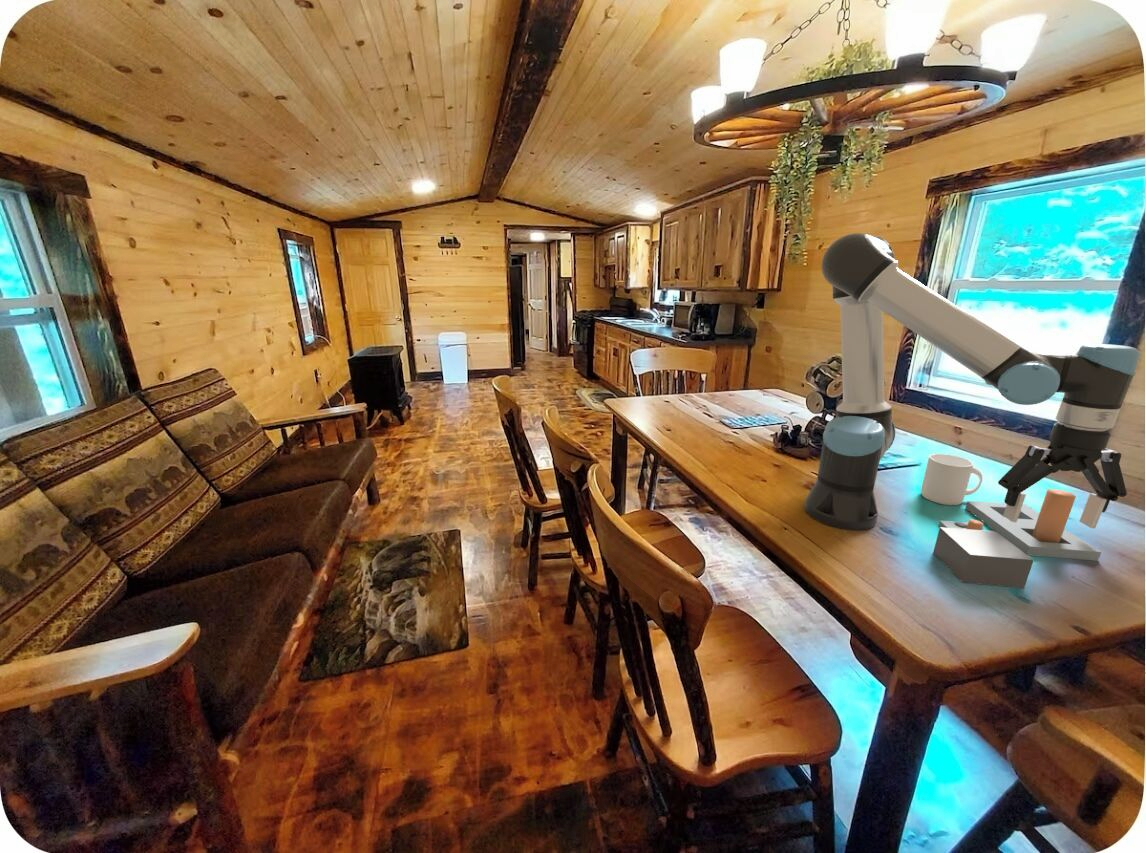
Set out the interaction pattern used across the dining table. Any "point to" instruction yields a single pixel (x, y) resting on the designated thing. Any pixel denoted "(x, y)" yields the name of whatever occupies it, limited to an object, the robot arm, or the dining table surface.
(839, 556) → the dining table surface
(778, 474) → the dining table surface
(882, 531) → the dining table surface
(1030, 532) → the socket board
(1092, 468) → the robot arm
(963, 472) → the mug
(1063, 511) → the peg
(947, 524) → the board
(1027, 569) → the cover
